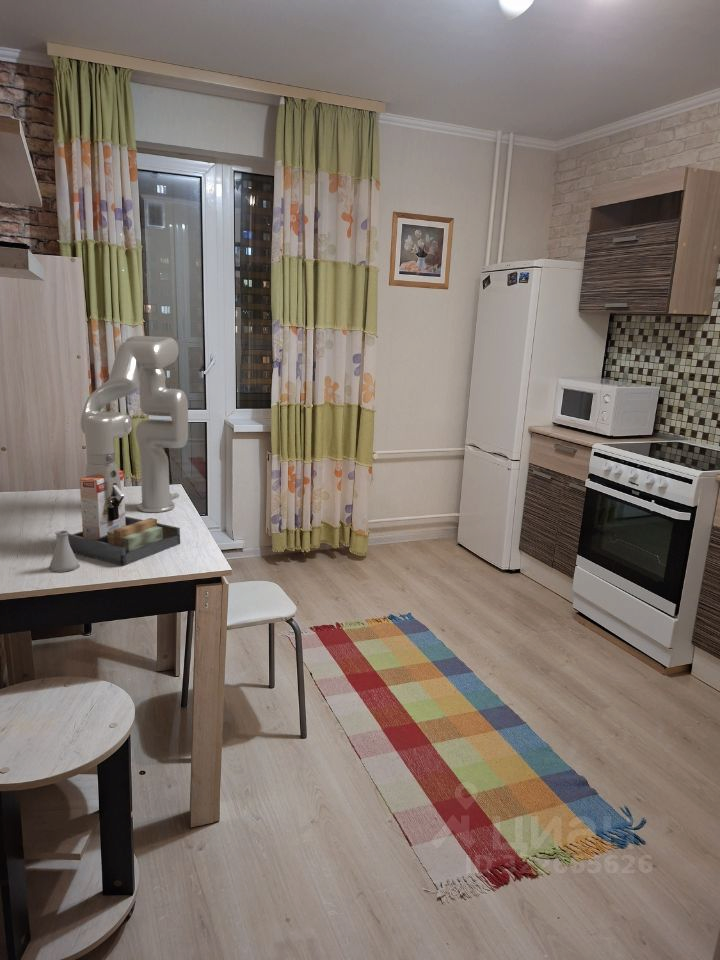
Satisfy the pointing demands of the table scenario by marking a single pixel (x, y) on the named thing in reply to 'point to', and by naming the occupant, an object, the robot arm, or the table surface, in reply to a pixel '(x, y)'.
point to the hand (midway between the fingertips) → (104, 517)
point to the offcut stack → (136, 534)
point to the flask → (63, 554)
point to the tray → (118, 554)
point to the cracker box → (99, 507)
